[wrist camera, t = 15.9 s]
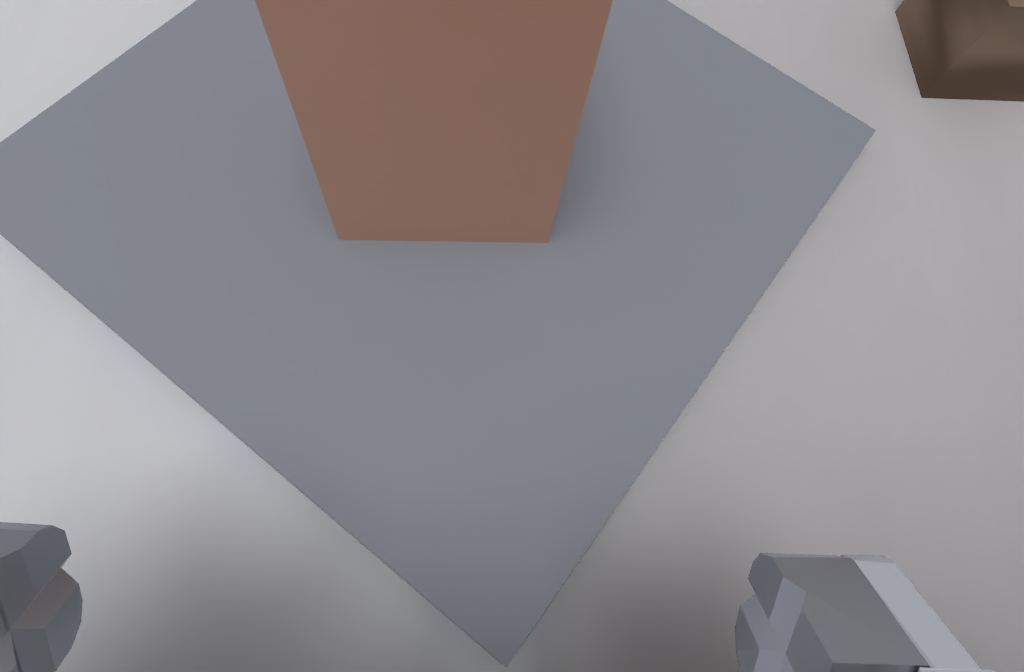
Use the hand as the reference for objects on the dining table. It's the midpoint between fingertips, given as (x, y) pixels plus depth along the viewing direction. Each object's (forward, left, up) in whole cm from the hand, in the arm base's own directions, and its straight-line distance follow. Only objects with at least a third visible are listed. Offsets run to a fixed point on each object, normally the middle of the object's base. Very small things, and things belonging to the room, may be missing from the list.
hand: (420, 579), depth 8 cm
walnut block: (-3, -25, -9) cm, 27 cm away
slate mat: (+8, -9, -9) cm, 15 cm away
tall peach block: (+8, -9, -8) cm, 15 cm away
